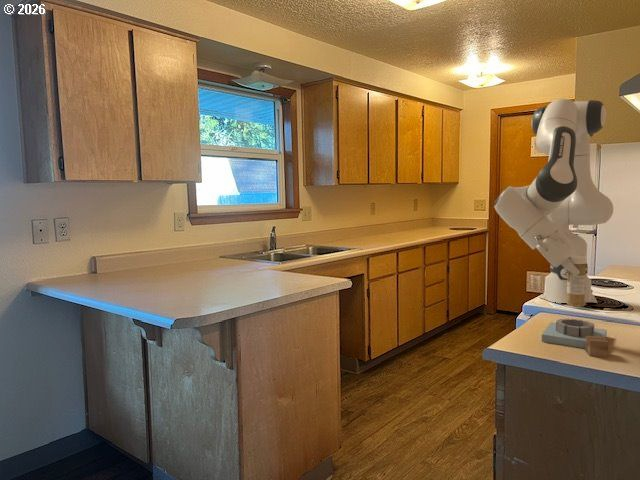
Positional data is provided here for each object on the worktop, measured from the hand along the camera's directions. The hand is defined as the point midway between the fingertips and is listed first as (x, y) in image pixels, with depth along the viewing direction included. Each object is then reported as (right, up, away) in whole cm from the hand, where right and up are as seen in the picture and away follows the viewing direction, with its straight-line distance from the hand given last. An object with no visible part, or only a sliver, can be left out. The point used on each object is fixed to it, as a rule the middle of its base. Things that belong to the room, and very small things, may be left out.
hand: (579, 272), depth 125 cm
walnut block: (-1, -20, -9) cm, 22 cm away
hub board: (0, -18, +2) cm, 19 cm away
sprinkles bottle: (0, -9, +1) cm, 9 cm away
